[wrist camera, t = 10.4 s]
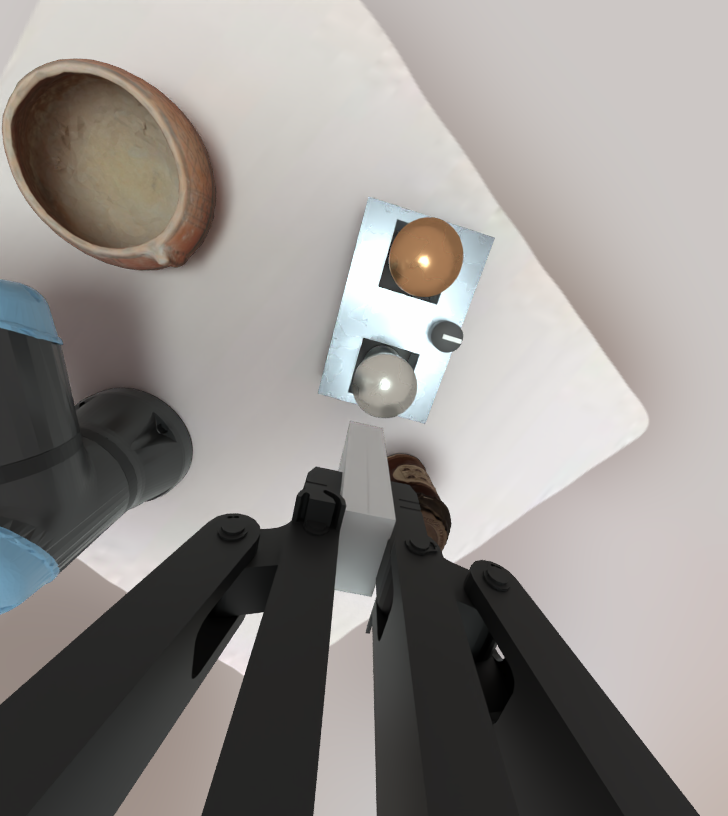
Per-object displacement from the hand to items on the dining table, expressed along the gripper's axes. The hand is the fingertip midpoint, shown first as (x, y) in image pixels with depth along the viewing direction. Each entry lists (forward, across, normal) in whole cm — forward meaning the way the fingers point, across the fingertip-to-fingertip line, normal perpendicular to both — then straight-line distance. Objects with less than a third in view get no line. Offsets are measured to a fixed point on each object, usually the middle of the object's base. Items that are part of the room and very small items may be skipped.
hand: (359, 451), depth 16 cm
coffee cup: (+27, +9, -14) cm, 32 cm away
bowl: (+28, -25, +11) cm, 39 cm away
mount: (+27, +3, +5) cm, 27 cm away
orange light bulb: (+26, +3, +10) cm, 28 cm away
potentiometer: (+21, +7, +5) cm, 22 cm away
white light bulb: (+26, +3, -1) cm, 26 cm away
